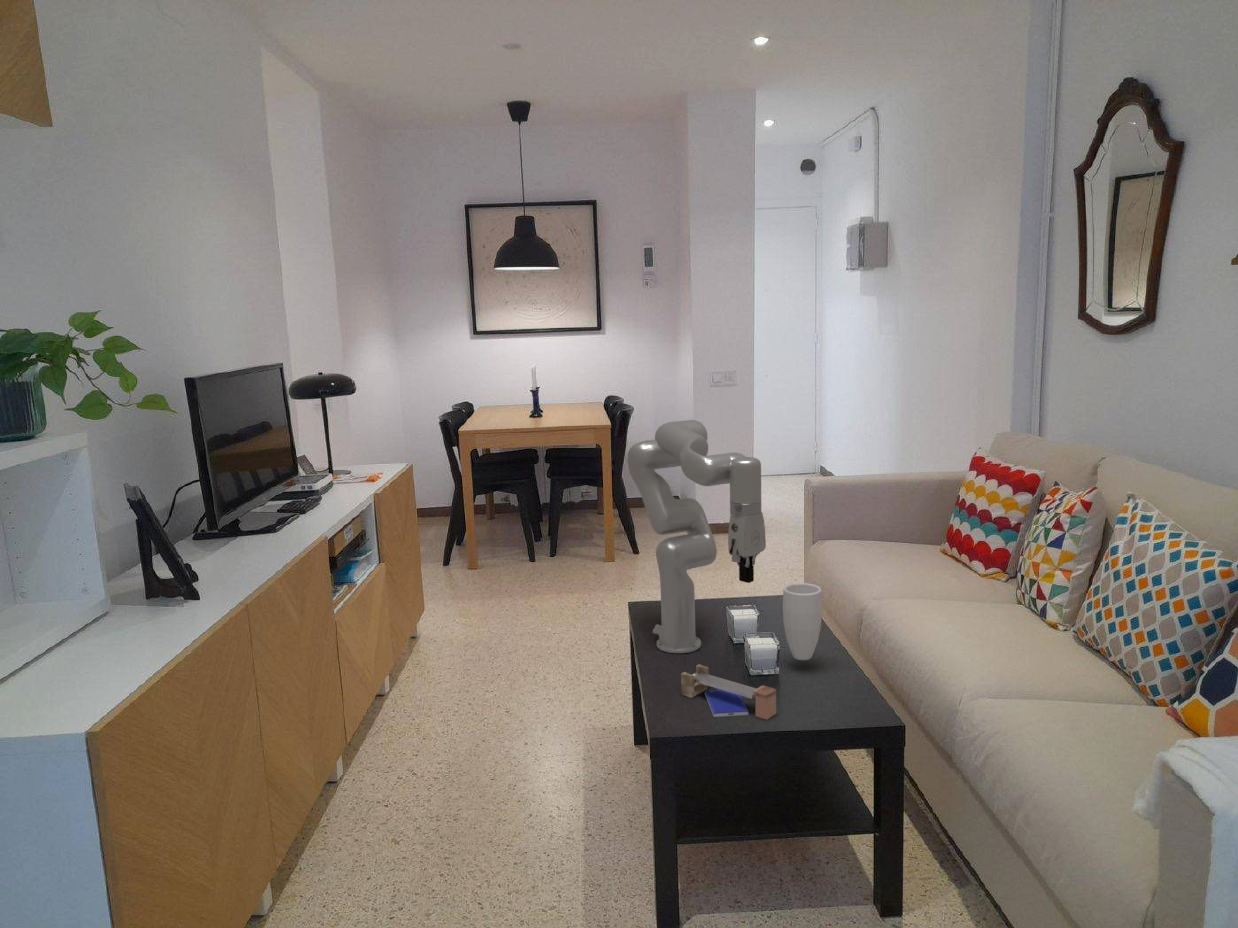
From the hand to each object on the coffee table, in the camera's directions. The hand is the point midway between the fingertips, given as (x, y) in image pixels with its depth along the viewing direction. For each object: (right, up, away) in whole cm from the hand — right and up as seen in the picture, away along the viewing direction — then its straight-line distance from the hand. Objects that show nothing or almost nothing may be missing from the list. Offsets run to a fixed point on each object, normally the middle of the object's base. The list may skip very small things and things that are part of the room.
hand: (746, 581), depth 205 cm
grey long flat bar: (-6, -25, -5) cm, 26 cm away
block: (+3, -29, -12) cm, 32 cm away
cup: (+17, -25, +14) cm, 33 cm away
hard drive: (-6, -29, -6) cm, 30 cm away
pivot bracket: (-12, -28, +2) cm, 30 cm away
